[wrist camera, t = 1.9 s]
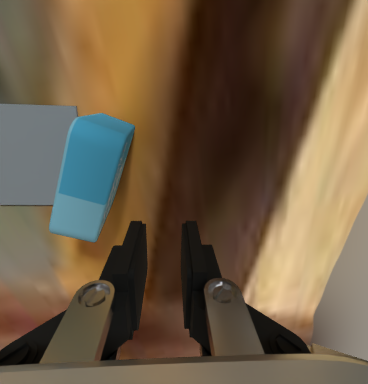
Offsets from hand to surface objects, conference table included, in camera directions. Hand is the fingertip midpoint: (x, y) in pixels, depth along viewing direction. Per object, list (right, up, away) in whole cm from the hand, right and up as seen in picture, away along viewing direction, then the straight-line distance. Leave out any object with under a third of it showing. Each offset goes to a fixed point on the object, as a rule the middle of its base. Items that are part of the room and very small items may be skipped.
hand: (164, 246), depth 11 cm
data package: (-10, +7, +19) cm, 23 cm away
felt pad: (-20, +8, +19) cm, 28 cm away
